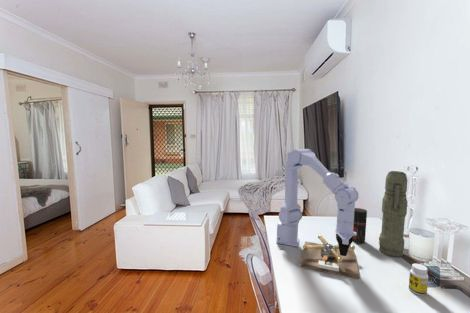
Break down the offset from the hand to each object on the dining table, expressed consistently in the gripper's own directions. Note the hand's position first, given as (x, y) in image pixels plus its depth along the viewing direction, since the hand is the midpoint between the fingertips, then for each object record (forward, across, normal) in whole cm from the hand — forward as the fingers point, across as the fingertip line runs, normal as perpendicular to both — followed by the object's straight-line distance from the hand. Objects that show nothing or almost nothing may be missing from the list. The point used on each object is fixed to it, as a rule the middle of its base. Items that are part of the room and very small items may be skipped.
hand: (343, 254), depth 91 cm
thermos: (+5, +22, -20) cm, 30 cm away
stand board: (+5, +4, +5) cm, 8 cm away
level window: (+4, -4, +5) cm, 8 cm away
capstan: (+4, +4, +5) cm, 8 cm away
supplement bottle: (+5, -6, -22) cm, 23 cm away
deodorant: (+5, +28, -8) cm, 30 cm away
